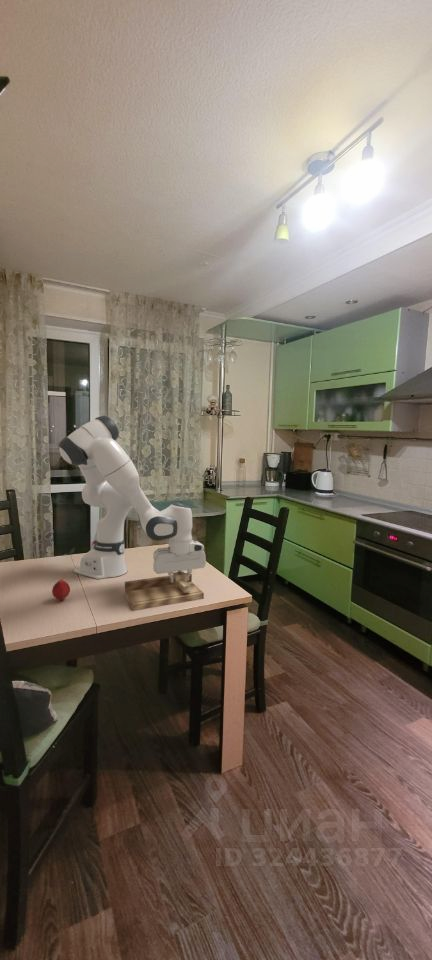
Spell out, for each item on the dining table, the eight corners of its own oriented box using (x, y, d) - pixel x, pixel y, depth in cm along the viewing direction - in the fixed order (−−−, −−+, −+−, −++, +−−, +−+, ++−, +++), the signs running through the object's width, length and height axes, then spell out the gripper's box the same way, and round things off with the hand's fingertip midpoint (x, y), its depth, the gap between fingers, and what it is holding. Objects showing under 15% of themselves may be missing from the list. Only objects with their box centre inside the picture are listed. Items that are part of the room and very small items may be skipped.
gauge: (182, 593, 137) (182, 579, 137) (172, 583, 146) (173, 570, 146) (192, 591, 139) (192, 577, 138) (182, 582, 148) (182, 569, 147)
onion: (59, 605, 131) (58, 583, 131) (48, 601, 134) (48, 579, 134) (73, 599, 136) (73, 577, 136) (63, 595, 139) (62, 574, 139)
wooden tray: (133, 610, 129) (133, 596, 128) (124, 594, 142) (124, 581, 141) (203, 598, 140) (203, 585, 140) (189, 584, 153) (189, 572, 152)
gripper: (156, 551, 136) (155, 588, 138) (207, 545, 145) (207, 580, 147) (151, 546, 142) (150, 582, 143) (201, 541, 151) (200, 575, 152)
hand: (179, 581), depth 145 cm, fingers closed on gauge, 4 cm apart
